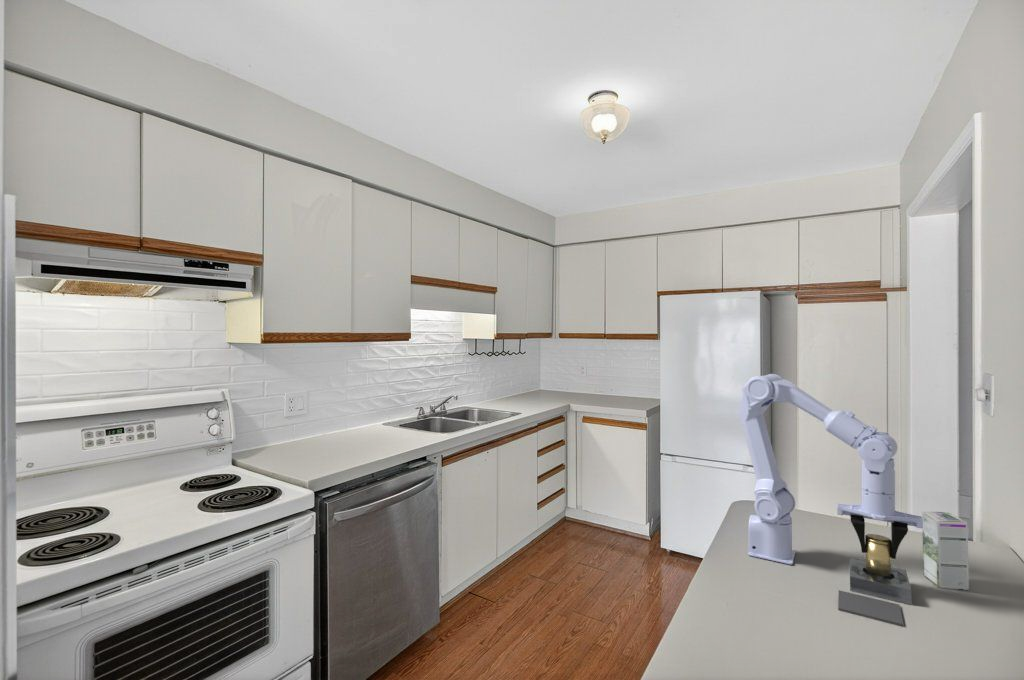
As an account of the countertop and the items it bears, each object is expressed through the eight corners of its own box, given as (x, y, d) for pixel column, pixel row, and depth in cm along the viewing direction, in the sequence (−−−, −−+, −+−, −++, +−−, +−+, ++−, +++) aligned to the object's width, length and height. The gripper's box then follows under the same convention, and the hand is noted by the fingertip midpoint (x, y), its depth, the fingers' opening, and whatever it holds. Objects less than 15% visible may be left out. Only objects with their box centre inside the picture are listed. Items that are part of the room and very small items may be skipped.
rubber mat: (838, 609, 95) (838, 607, 95) (838, 592, 102) (838, 590, 102) (903, 626, 90) (903, 624, 90) (899, 606, 96) (899, 604, 96)
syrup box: (970, 590, 102) (970, 521, 102) (937, 588, 103) (937, 520, 103) (951, 577, 108) (951, 512, 108) (921, 575, 109) (920, 510, 109)
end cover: (865, 572, 103) (865, 539, 103) (865, 564, 107) (864, 532, 107) (892, 577, 101) (892, 544, 101) (890, 569, 104) (890, 537, 104)
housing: (850, 590, 103) (850, 576, 103) (849, 571, 111) (849, 558, 111) (911, 604, 97) (911, 589, 97) (906, 583, 105) (905, 569, 105)
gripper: (836, 489, 105) (836, 552, 105) (924, 502, 96) (925, 570, 97) (837, 481, 110) (837, 541, 111) (920, 492, 102) (920, 556, 102)
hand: (878, 553), depth 104 cm, fingers closed on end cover, 4 cm apart
